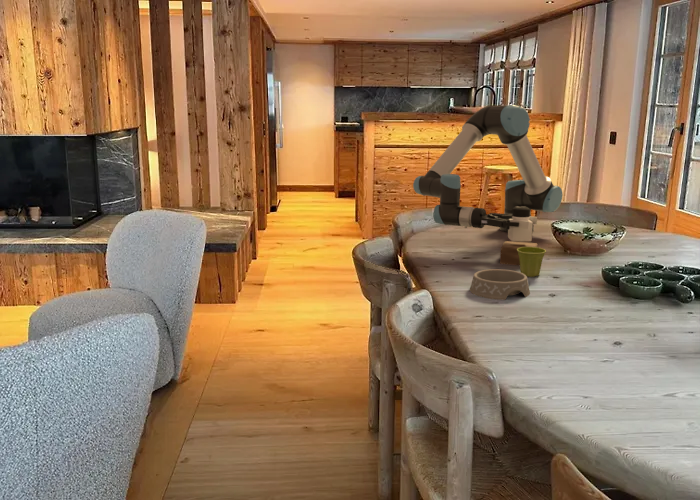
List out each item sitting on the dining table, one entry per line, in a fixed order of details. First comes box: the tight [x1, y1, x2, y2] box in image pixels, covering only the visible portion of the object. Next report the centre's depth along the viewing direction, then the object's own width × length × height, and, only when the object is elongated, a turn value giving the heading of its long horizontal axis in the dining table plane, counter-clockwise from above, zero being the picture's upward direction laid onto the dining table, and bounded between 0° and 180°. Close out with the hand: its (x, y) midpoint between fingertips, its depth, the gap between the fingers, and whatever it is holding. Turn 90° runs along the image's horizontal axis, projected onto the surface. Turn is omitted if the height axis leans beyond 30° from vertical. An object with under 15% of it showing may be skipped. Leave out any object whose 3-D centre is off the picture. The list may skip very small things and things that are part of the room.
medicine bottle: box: [507, 207, 534, 243], centre depth 226 cm, size 7×7×12 cm
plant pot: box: [517, 246, 547, 278], centre depth 210 cm, size 9×9×9 cm
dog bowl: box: [469, 268, 531, 301], centre depth 192 cm, size 17×18×5 cm
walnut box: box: [499, 240, 539, 266], centre depth 228 cm, size 12×12×6 cm
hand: (532, 222), depth 223 cm, fingers closed on medicine bottle, 9 cm apart
